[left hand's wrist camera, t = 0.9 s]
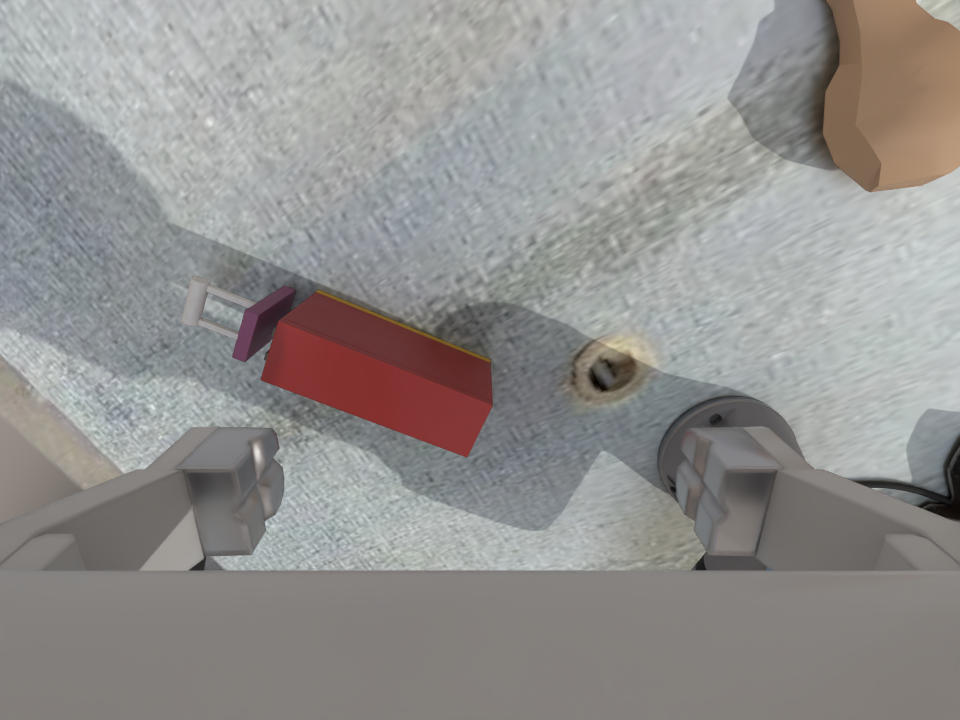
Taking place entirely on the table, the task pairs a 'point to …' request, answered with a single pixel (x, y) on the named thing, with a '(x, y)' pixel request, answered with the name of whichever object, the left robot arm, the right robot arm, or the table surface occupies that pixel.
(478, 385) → the red yellow-edged box
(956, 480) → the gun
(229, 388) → the table surface
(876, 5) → the squash
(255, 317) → the drawer
